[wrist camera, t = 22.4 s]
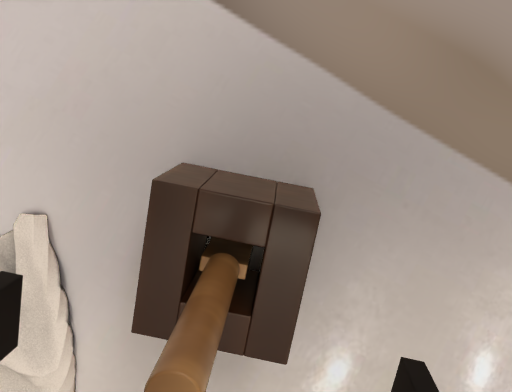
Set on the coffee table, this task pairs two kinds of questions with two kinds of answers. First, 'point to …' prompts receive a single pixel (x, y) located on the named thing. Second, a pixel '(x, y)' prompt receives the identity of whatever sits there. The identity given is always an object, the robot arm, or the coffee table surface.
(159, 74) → the coffee table surface
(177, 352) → the stick
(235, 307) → the holder
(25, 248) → the cloth
